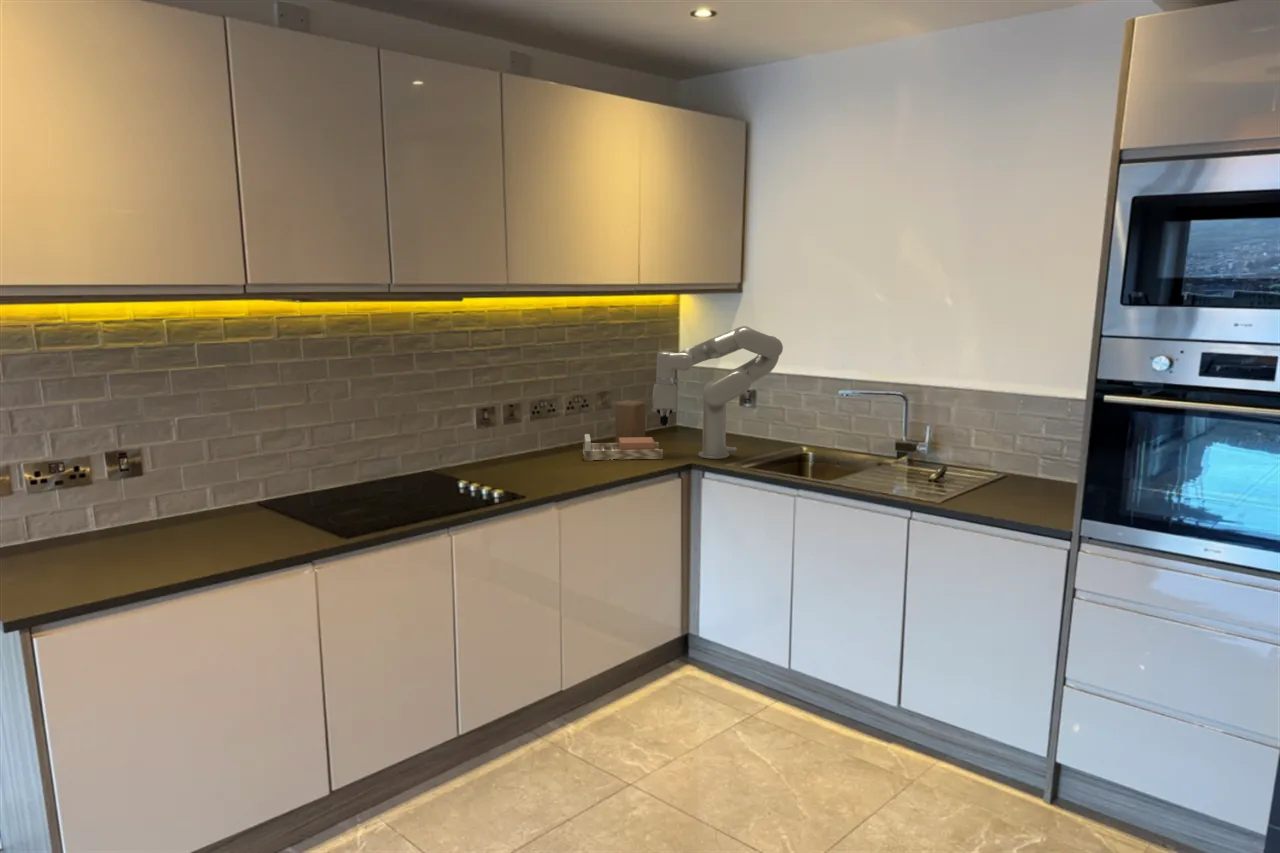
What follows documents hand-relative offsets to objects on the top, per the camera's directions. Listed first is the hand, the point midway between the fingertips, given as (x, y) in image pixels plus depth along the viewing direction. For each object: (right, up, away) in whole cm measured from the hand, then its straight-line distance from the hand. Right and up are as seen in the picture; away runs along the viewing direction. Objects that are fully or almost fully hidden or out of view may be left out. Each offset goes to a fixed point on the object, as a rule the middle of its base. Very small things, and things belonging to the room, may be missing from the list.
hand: (663, 425), depth 342 cm
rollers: (-17, -11, 0) cm, 21 cm away
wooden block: (-14, -10, +20) cm, 26 cm away
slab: (-11, -9, 0) cm, 15 cm away
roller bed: (-17, -13, 0) cm, 22 cm away
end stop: (-32, -11, -1) cm, 34 cm away
